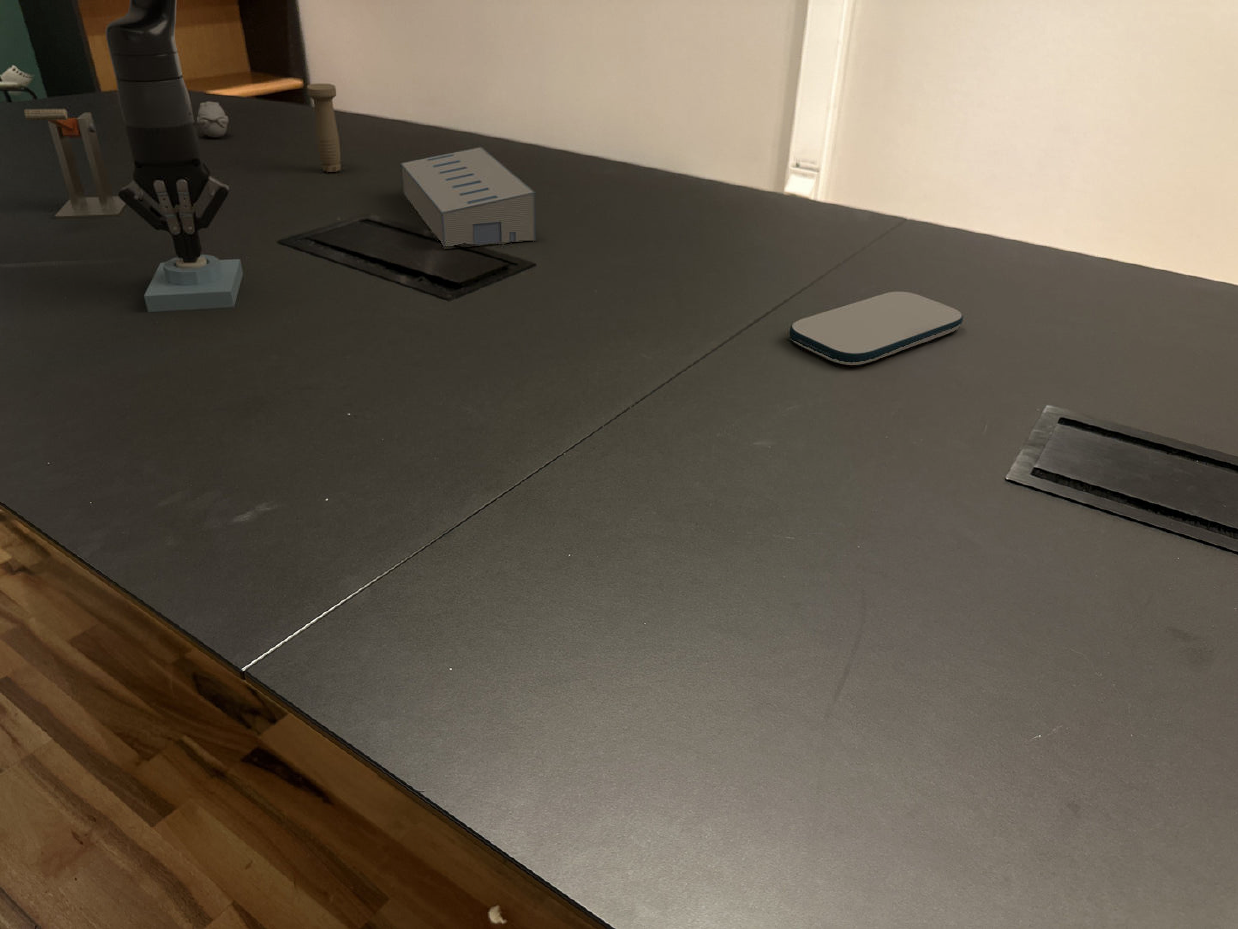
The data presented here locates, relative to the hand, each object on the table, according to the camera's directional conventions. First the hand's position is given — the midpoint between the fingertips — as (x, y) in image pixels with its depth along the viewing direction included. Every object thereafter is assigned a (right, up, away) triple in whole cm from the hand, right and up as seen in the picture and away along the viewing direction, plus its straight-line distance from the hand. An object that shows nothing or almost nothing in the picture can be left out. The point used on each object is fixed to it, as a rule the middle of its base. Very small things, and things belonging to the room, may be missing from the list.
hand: (191, 260), depth 115 cm
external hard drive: (+87, -10, -2) cm, 88 cm away
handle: (0, +29, +55) cm, 62 cm away
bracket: (-29, +14, +29) cm, 43 cm away
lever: (-27, +23, +17) cm, 40 cm away
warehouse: (+29, +15, +34) cm, 47 cm away
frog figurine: (-30, +43, +75) cm, 91 cm away
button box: (0, -4, +2) cm, 4 cm away
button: (0, -1, +1) cm, 2 cm away
